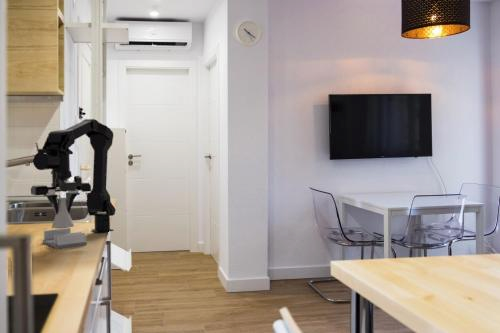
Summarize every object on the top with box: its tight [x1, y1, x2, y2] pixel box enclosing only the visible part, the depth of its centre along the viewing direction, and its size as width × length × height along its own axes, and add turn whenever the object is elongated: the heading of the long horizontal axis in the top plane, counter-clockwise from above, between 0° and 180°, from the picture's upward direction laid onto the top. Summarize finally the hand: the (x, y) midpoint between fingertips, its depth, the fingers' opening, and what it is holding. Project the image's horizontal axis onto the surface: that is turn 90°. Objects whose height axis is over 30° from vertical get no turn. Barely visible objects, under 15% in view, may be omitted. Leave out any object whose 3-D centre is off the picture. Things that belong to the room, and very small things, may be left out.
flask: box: [51, 197, 75, 229], centre depth 181 cm, size 7×7×10 cm
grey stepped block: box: [42, 227, 88, 249], centre depth 180 cm, size 14×10×4 cm
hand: (62, 214), depth 181 cm, fingers closed on flask, 3 cm apart
